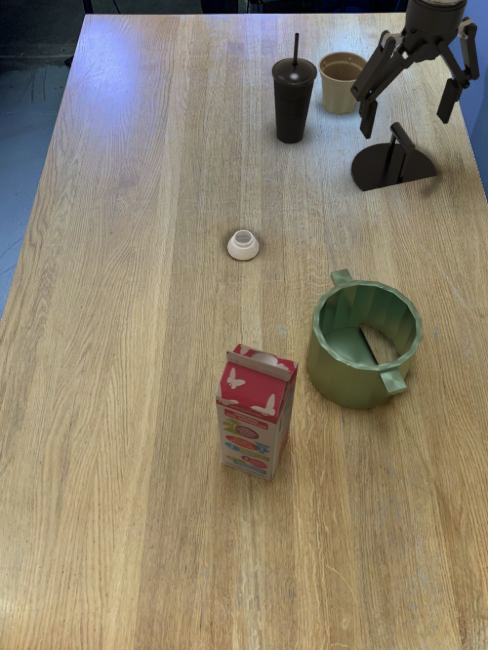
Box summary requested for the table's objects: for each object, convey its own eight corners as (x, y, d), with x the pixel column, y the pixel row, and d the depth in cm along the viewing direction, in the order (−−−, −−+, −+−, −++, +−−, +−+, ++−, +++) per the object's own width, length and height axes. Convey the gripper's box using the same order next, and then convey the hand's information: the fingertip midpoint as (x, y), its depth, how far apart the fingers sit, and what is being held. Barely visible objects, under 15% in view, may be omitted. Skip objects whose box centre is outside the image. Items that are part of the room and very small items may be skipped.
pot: (373, 301, 90) (386, 255, 81) (429, 411, 80) (452, 372, 71) (287, 322, 88) (291, 278, 79) (334, 438, 78) (345, 401, 69)
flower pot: (349, 128, 113) (356, 87, 106) (305, 111, 116) (309, 71, 109) (370, 101, 117) (378, 60, 110) (327, 86, 120) (332, 45, 113)
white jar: (221, 246, 96) (238, 266, 94) (221, 233, 94) (238, 253, 92) (247, 233, 98) (265, 252, 96) (247, 220, 96) (265, 240, 93)
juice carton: (240, 418, 79) (238, 325, 61) (288, 435, 78) (300, 345, 60) (221, 463, 76) (213, 378, 58) (271, 482, 74) (278, 401, 56)
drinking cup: (316, 130, 112) (328, 27, 96) (301, 155, 109) (310, 52, 92) (278, 120, 114) (284, 16, 98) (262, 144, 110) (265, 40, 94)
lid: (412, 141, 111) (424, 98, 103) (450, 195, 103) (466, 153, 95) (337, 157, 108) (344, 114, 101) (370, 213, 100) (380, 171, 93)
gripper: (509, -34, 83) (462, 99, 101) (341, -9, 79) (323, 125, 97) (538, -7, 79) (484, 126, 97) (363, 21, 75) (340, 155, 93)
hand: (403, 126), depth 97 cm, fingers open, 13 cm apart
